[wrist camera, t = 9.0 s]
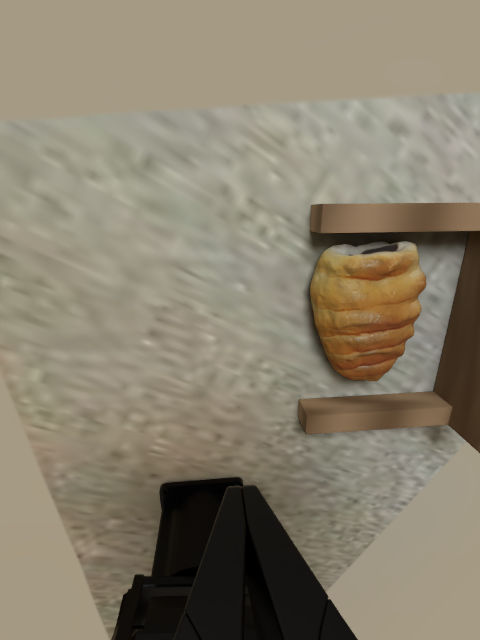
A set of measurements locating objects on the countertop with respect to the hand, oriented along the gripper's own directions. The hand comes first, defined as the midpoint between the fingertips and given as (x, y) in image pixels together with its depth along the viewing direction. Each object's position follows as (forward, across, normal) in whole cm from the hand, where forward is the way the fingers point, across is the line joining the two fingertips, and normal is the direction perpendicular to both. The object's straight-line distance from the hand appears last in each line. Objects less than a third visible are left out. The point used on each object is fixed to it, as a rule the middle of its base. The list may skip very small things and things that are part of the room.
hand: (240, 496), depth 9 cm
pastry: (+13, -9, -2) cm, 16 cm away
